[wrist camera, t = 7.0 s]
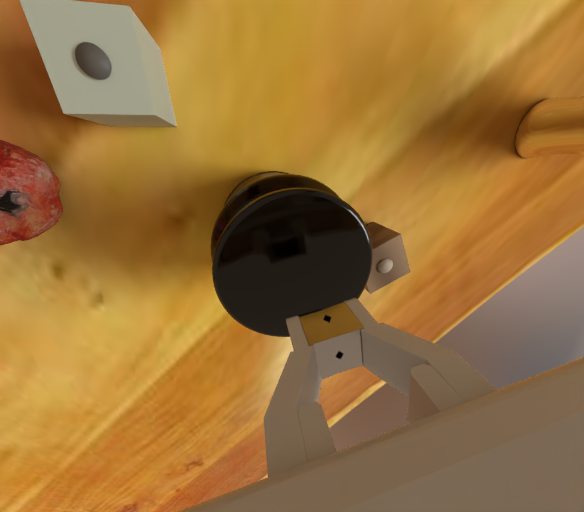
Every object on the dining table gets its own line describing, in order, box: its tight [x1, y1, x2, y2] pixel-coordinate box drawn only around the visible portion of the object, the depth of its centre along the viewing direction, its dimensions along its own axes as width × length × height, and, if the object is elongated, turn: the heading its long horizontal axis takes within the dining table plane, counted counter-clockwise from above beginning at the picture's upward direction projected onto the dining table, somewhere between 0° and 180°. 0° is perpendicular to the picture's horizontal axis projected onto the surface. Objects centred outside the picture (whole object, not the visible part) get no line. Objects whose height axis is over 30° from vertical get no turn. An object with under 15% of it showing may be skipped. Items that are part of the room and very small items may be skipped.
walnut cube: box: [365, 222, 410, 294], centre depth 24 cm, size 5×5×5 cm
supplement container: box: [211, 171, 373, 337], centre depth 18 cm, size 10×10×12 cm
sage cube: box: [20, 0, 177, 127], centre depth 14 cm, size 5×5×5 cm
